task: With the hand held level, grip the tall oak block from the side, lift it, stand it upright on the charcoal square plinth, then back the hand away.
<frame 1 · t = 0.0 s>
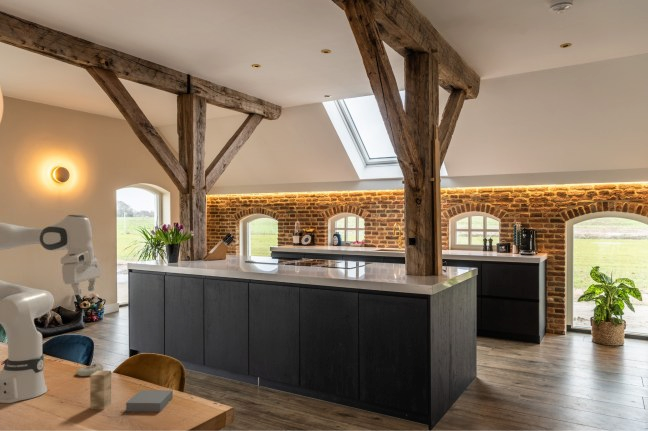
hand: (84, 292, 178), 39 cm above the table, tool pointing down, fingers open, 8 cm apart
oak block: (100, 406, 167), on the table
plinth: (150, 404, 168), on the table
fossil: (90, 373, 203), on the table
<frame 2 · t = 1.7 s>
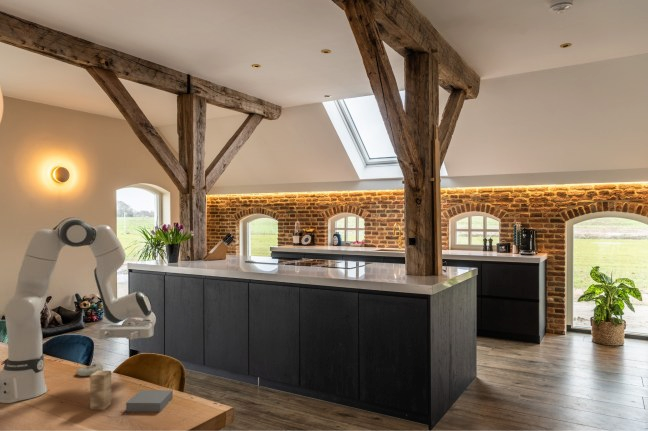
hand: (117, 336, 179), 22 cm above the table, tool horizontal, fingers open, 8 cm apart
nothing on the table moved.
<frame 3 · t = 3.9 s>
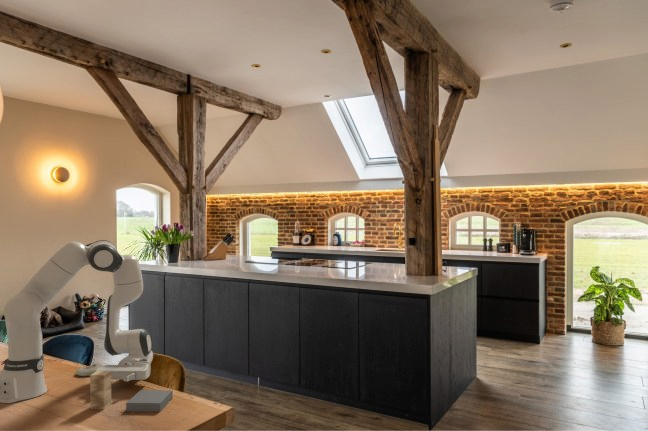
hand: (113, 379, 176), 6 cm above the table, tool horizontal, fingers open, 8 cm apart
nothing on the table moved.
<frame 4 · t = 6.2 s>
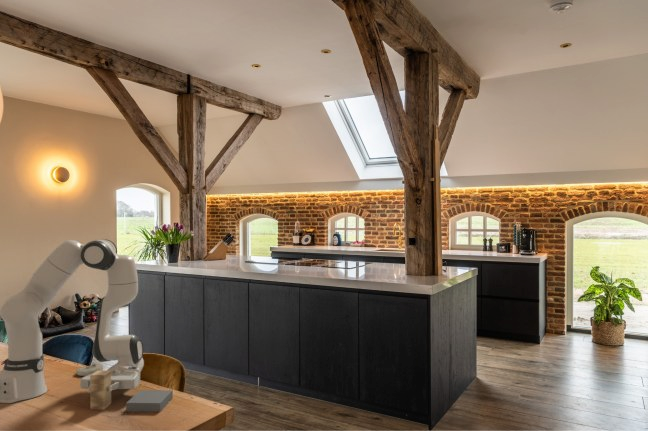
hand: (99, 389, 166), 7 cm above the table, tool horizontal, fingers closed on oak block, 5 cm apart
oak block: (100, 406, 167), on the table, touching gripper
everything else where it was.
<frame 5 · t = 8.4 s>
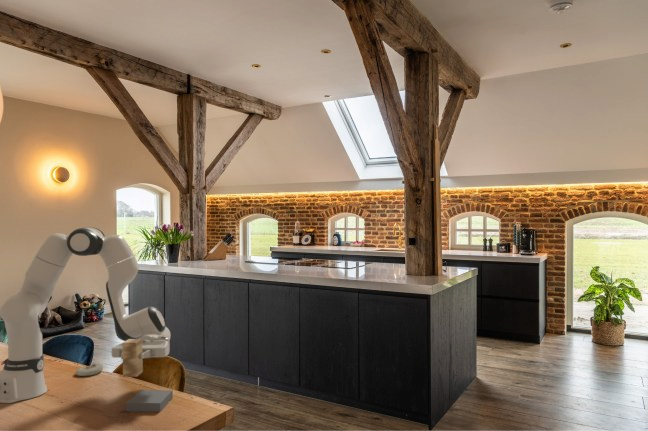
hand: (131, 356, 167), 18 cm above the table, tool horizontal, fingers closed on oak block, 5 cm apart
oak block: (133, 374, 168), point 11 cm above the table, touching gripper
everything else where it was.
when the fingers open (11 cm above the table, at t = 10.4 s): oak block drops 1 cm, resting on plinth.
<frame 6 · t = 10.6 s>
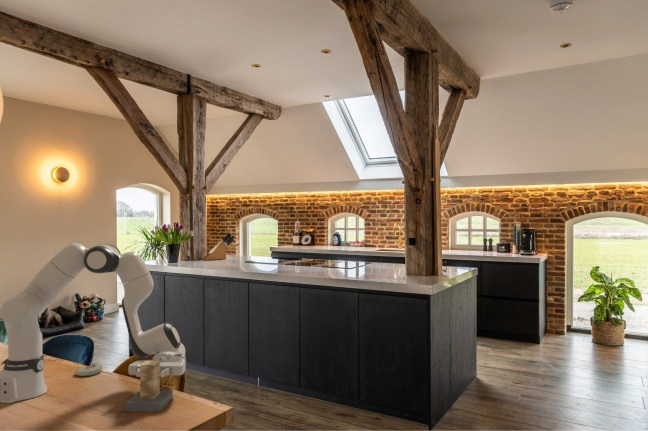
hand: (149, 374, 167), 11 cm above the table, tool horizontal, fingers open, 7 cm apart
oak block: (150, 396, 168), point 3 cm above the table, touching plinth
everything else where it was.
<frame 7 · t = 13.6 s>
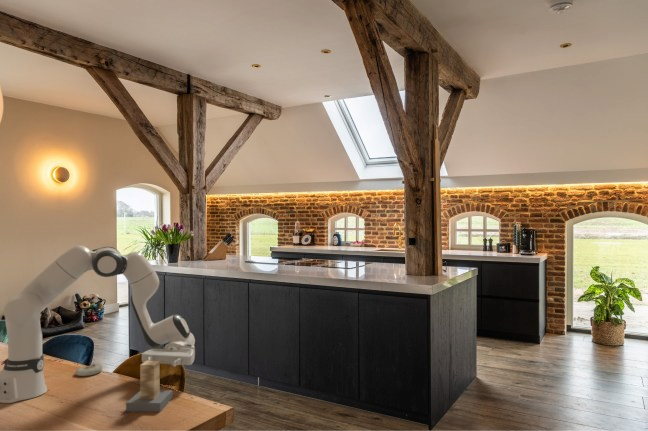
hand: (160, 363, 180), 11 cm above the table, tool horizontal, fingers open, 8 cm apart
nothing on the table moved.
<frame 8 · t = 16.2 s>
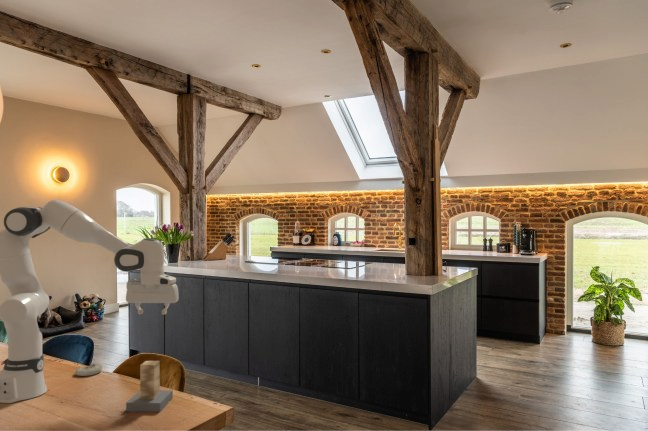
hand: (152, 314, 185), 29 cm above the table, tool pointing down, fingers open, 8 cm apart
nothing on the table moved.
at the end: oak block inside the target area on the plinth (0.1 cm from its centre), point 3.0 cm above the plinth's base; oak block tilted 0°; the gripper is holding nothing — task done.
